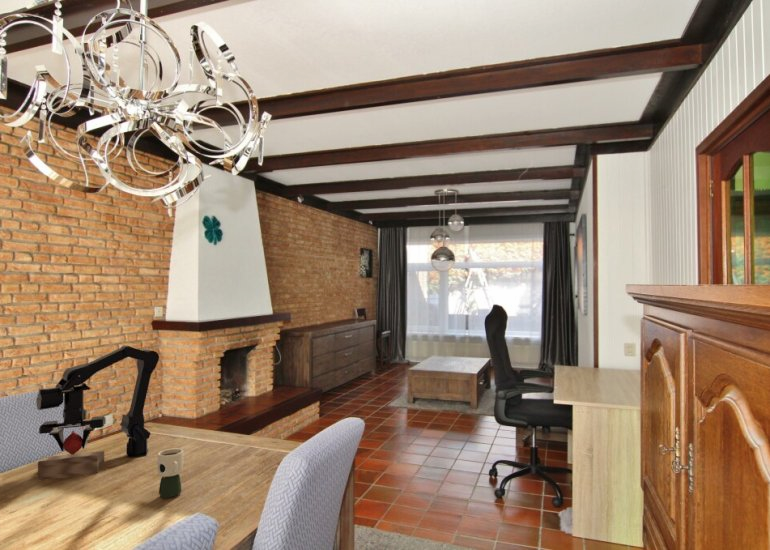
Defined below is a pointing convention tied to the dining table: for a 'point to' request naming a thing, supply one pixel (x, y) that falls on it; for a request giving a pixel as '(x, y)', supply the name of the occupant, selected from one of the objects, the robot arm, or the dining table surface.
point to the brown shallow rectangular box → (70, 465)
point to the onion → (73, 443)
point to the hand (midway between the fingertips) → (73, 449)
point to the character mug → (170, 472)
